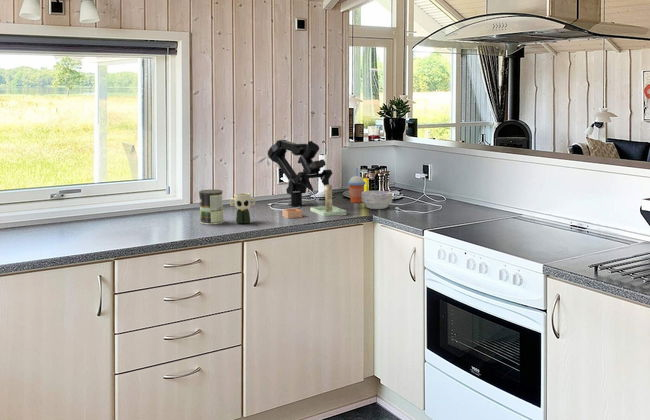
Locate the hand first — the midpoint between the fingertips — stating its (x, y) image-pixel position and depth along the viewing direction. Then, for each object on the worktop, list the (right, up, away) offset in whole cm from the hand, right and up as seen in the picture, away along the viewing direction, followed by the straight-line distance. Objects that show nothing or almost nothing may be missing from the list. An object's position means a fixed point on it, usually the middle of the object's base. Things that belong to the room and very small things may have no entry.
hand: (320, 189), depth 303 cm
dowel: (+4, -11, -4) cm, 12 cm away
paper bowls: (+28, -9, +11) cm, 31 cm away
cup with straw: (+19, -6, +29) cm, 35 cm away
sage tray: (+4, -11, -3) cm, 12 cm away
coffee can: (-48, -15, -21) cm, 55 cm away
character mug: (-34, -16, -24) cm, 44 cm away
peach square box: (-13, -13, -12) cm, 22 cm away
